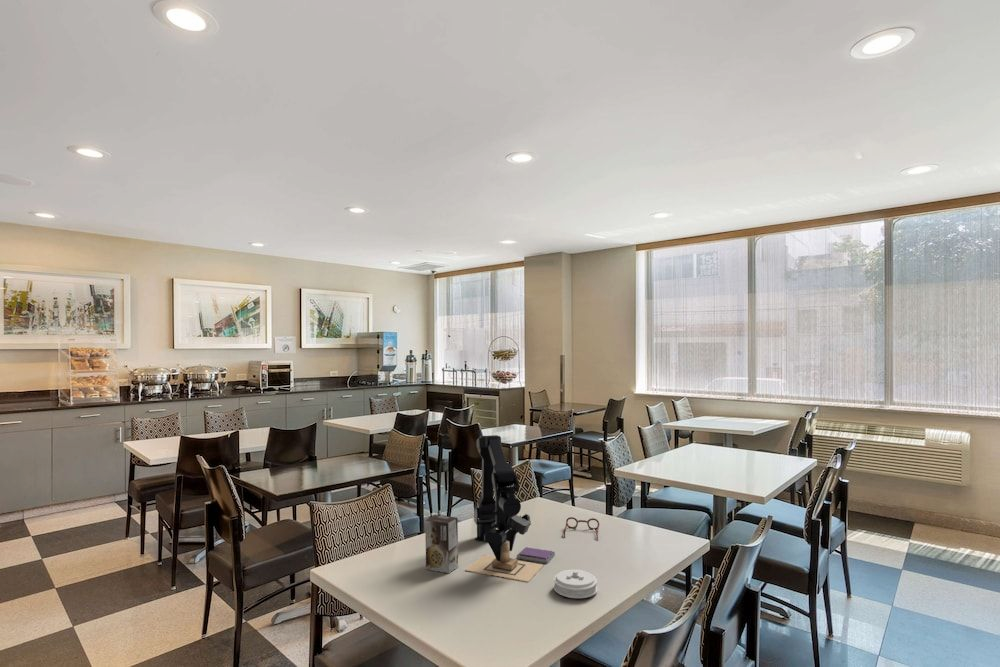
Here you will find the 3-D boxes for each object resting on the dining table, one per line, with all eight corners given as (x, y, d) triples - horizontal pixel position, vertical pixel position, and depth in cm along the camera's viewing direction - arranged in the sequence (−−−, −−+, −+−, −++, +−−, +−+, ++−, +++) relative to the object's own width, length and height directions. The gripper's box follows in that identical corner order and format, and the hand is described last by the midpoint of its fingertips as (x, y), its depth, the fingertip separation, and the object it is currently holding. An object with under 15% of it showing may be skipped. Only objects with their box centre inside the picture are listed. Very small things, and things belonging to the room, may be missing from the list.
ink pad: (516, 558, 182) (516, 554, 182) (525, 550, 189) (525, 546, 189) (547, 563, 177) (547, 558, 177) (554, 555, 185) (554, 550, 185)
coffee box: (458, 566, 175) (458, 517, 176) (449, 574, 170) (448, 522, 170) (435, 562, 179) (435, 514, 180) (424, 569, 173) (424, 519, 174)
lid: (583, 579, 165) (583, 563, 165) (605, 597, 153) (605, 579, 153) (546, 586, 160) (546, 569, 161) (566, 604, 149) (566, 586, 149)
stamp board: (464, 570, 172) (464, 569, 172) (484, 555, 185) (484, 554, 185) (528, 582, 163) (528, 580, 163) (543, 565, 176) (543, 564, 176)
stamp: (491, 568, 173) (491, 542, 173) (498, 562, 178) (498, 537, 178) (511, 571, 170) (511, 545, 171) (517, 566, 175) (517, 540, 175)
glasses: (599, 530, 212) (599, 518, 212) (598, 541, 199) (598, 528, 199) (566, 528, 214) (566, 516, 215) (563, 539, 202) (562, 526, 202)
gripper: (515, 518, 163) (516, 570, 162) (537, 502, 180) (537, 549, 179) (483, 514, 167) (483, 564, 167) (507, 499, 184) (507, 545, 184)
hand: (504, 555), depth 174 cm, fingers open, 9 cm apart
